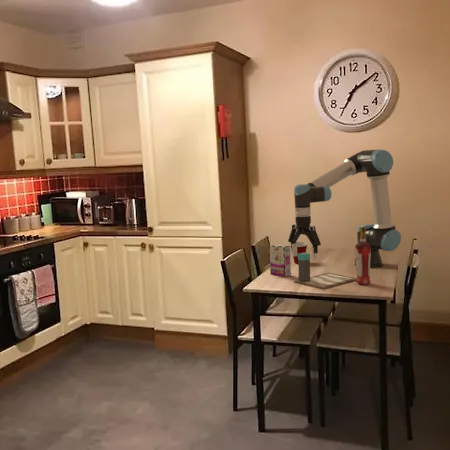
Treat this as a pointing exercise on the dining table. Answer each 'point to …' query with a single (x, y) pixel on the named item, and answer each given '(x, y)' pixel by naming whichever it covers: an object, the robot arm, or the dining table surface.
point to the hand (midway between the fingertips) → (304, 257)
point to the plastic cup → (299, 250)
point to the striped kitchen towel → (327, 280)
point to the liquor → (363, 259)
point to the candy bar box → (280, 260)
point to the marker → (304, 267)
